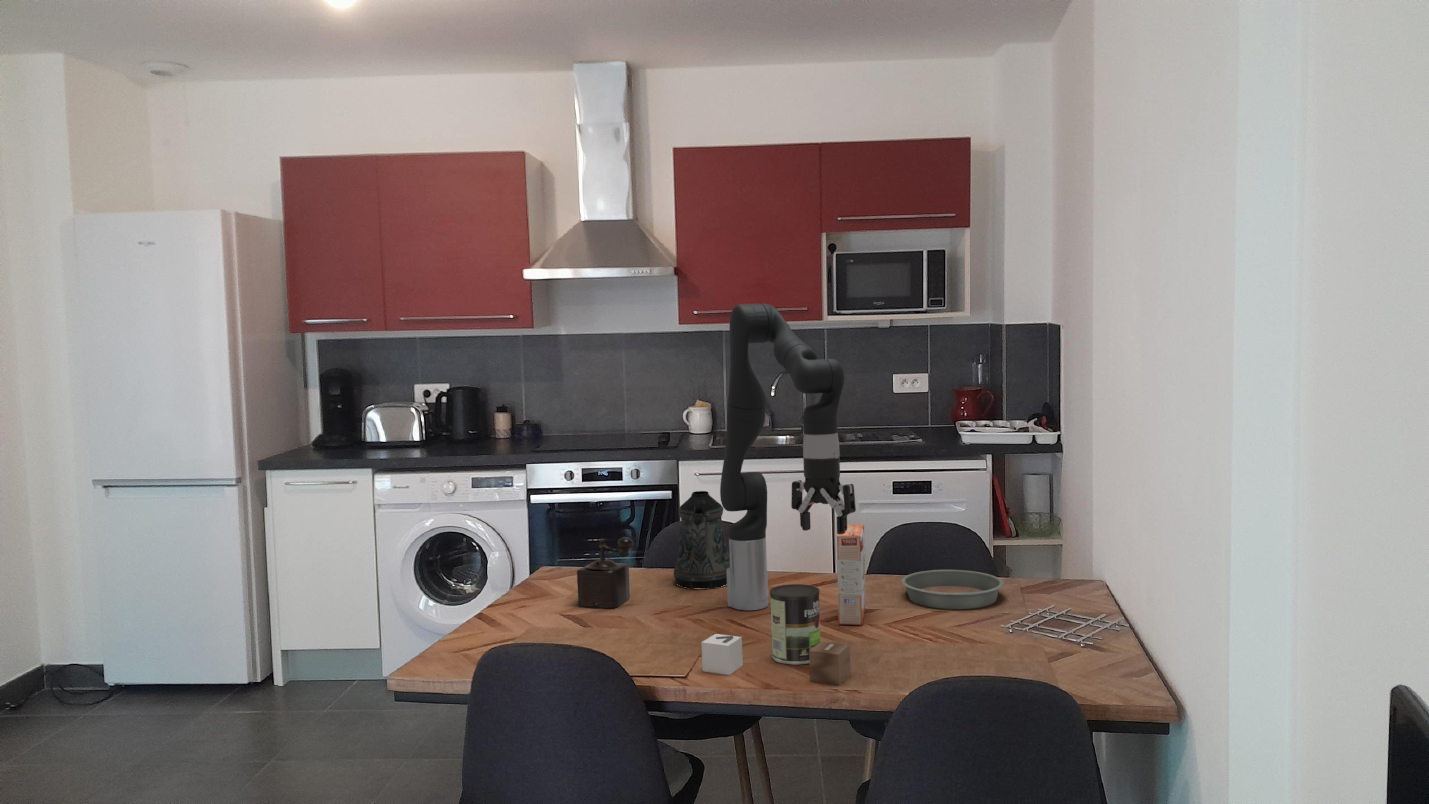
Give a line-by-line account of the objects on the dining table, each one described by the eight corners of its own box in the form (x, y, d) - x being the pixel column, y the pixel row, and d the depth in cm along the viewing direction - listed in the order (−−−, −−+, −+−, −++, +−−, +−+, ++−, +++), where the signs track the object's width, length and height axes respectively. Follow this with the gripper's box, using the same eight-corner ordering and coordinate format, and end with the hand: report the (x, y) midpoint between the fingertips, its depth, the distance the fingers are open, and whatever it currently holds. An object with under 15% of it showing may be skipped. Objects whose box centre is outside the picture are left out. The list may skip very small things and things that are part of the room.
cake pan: (1024, 598, 240) (1024, 580, 240) (956, 618, 226) (956, 599, 226) (948, 580, 260) (947, 564, 260) (881, 597, 246) (881, 579, 246)
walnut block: (810, 681, 188) (809, 649, 188) (821, 671, 193) (820, 640, 193) (839, 685, 185) (838, 653, 185) (850, 675, 191) (849, 644, 190)
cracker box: (864, 626, 222) (861, 535, 220) (837, 625, 223) (835, 535, 222) (867, 609, 235) (864, 523, 234) (842, 608, 237) (839, 523, 235)
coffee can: (829, 652, 204) (827, 586, 203) (807, 667, 195) (805, 598, 194) (786, 646, 209) (784, 581, 209) (762, 660, 201) (760, 593, 200)
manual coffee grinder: (575, 607, 246) (572, 537, 245) (594, 596, 257) (591, 528, 256) (632, 610, 241) (628, 539, 240) (649, 599, 252) (646, 530, 251)
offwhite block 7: (702, 671, 196) (701, 641, 195) (716, 662, 201) (715, 632, 201) (729, 675, 193) (728, 644, 193) (742, 665, 198) (741, 635, 198)
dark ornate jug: (719, 572, 278) (716, 485, 276) (749, 586, 260) (745, 494, 259) (665, 579, 271) (661, 490, 270) (691, 595, 254) (688, 500, 252)
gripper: (782, 455, 205) (785, 532, 206) (841, 458, 196) (844, 538, 197) (802, 451, 211) (804, 525, 212) (860, 454, 202) (862, 531, 203)
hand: (823, 531), depth 204 cm, fingers open, 8 cm apart
